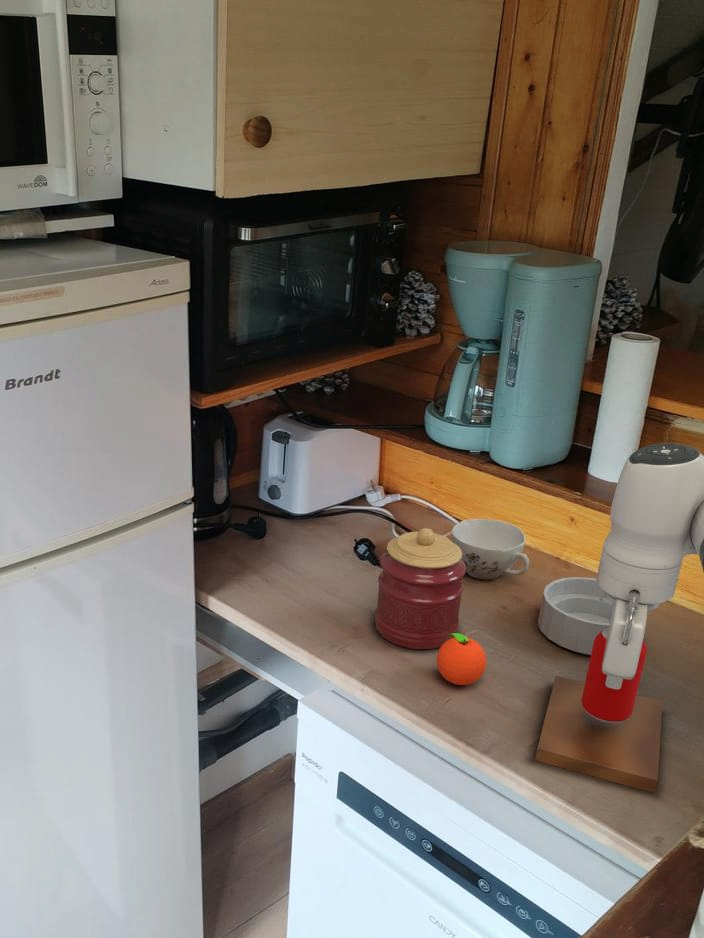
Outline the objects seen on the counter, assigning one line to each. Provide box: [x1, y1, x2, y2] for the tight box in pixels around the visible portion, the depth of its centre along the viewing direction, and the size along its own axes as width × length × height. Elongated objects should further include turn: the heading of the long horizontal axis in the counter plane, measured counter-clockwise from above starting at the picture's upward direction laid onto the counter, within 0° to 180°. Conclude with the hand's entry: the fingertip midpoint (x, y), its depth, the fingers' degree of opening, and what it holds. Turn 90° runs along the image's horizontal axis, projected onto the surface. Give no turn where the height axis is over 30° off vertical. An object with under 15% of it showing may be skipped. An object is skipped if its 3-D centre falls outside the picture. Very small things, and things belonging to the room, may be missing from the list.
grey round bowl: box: [537, 576, 613, 656], centre depth 142 cm, size 15×15×6 cm
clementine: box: [436, 632, 487, 686], centre depth 130 cm, size 8×7×7 cm
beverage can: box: [581, 627, 648, 723], centre depth 116 cm, size 6×6×12 cm
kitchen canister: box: [374, 527, 467, 650], centre depth 140 cm, size 13×13×18 cm
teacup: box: [451, 517, 530, 581], centre depth 159 cm, size 15×12×8 cm
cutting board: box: [534, 675, 663, 794], centre depth 119 cm, size 14×18×2 cm
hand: (615, 670), depth 115 cm, fingers closed on beverage can, 6 cm apart
